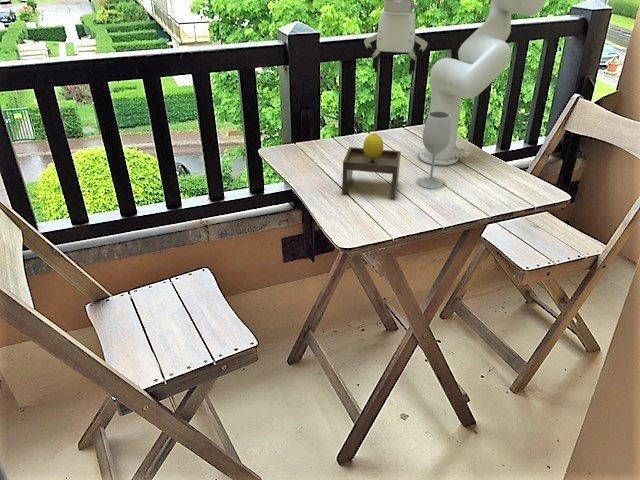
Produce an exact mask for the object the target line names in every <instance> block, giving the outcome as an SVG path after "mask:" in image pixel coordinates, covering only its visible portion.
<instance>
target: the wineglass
mask: <svg viewBox="0 0 640 480" xmlns="http://www.w3.org/2000/svg"><path fill="white" fill-rule="evenodd" d="M450 134H451V121H450V115H449V114H448V113H445V112H439V111H435V112H430V113H429V112H428V114H427V117H426V120H425V124H424V128H423V131H422V143H423V146H424V148H425V147H426V149H427V150H428V151H429V152H430V153H431V154H432V164H430V165H431V167H430V172H429V173H430V174H429V177H424V178H423V177H422V178H419V180H418V182H417V183H418V185H419V186H420V187H422V188H424V189H429V190H436V189H440V188H442V187H443V181H442V180H440V179H438V178H435V177H434V169H435V165H434V162H435V157H436V155H437V154H438V153H440V152H441V151H443V150H444V149H445V148H446V147H447V146H448V144H449V141H450Z"/></svg>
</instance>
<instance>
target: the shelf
mask: <svg viewBox="0 0 640 480" xmlns="http://www.w3.org/2000/svg"><path fill="white" fill-rule="evenodd" d="M348 147H349V148H348V149H347V152H346V154H345V156H344V158H343V160H342V185H341V187H342V188H341V195H343V196H346V195H347V193H348V191H349V189H350V186H351V184H352V180H353V172H354V171H356V172H367V173H376V174H377V173H378V174H386V175H387V174H389V175H392V177H391V188H390V198H389V199H390V201H391V200H394V201H395V200H396V195H397V189H398V185H399V178H400V177H399V176H400V165H401V156H402V155H401V153H402V151H401V150H389V149H383V151H382V154H381V155H380V156H379V157H378V158H376V159H374V160H371V159H370V158H368V157H367V156H366V155H365V153H364V150H363V147H356V146H355V147H354V146H353V147H352V146H348Z"/></svg>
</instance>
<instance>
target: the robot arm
mask: <svg viewBox="0 0 640 480" xmlns="http://www.w3.org/2000/svg"><path fill="white" fill-rule="evenodd" d="M546 1H547V0H490V7H489V13H488V16H487V18H486V19H485V21H484V22H483V23H482V24H481V25H480V27H478V28H477V29H476V30H475V31H474V32H473V33H472V34H471V35H470V36H468V38H466V39H465V41H464V42H463V43H462V44H461V45H460V47H459V48H458V51H457V57H458V59H455V58H452V57H444V58H441V59H439V60H437V61H436V62H435V63H434V64H433V65H432V67H431V69H430V74H429V85H430V103H429V110H428V114H429V113H430V112H435V111H439V112H445V113H448V114H449V115H450V121H451V134H450V141H449V144H448V146H447V147H446V148H445V149H444V150H443V151H441V152H440V153H438V154H437V155H436V157H435V162H434V166H450V165H453V164H456V163H457V162H458V161H459V158H460V157H464V158H465V157H467V158H469V156H470V150H466V148H464V147H461V148H459V147H457V138H458V131H459V125H460V117H461V111H462V99H465V100H470V99H474V98H476V97H477V96H479V95H480V94H481V93H482V92H483V91H485V89H487V88H488V87H489V86H490V85H491V84H492V83H493V82H494V81H495V80H496V79H497V78H499V76H500V75H501V74H502V73H503V72H504V71H505V70H506V68H507V67H508V66H509V63H510V60H511V56H512V50H511V47H510V44H508V43H507V42H506V41H507V40H508V38H509V37H510V34H511V29H512V14H514V15H520V16H525V17H531V16H535V15H538V14H539V13H540V12H541V11H542V10H543V8H544V6H545V5H546ZM416 9H419V2H416V1H415V0H384V1H383V10H381V11H380V15H379V21H378V27H377V33H375V34H373V35H371V36H369V37H367V38H364V41H363V44H364V46H365V48H366V50H367V52H368V53H369V54H370V56H371V57H372V69H374V70H373V71H374V73H376V74H377V73H378V71H379V65H380V64H379V63H380V62H379V61H380V56H379V54H380V53H381V52H386V53H387V52H388V53H408V55H409V56H410V59H409V68H408V75H409V76H412V73H413V72H415V71H416V70H415V69H416V60H417V59H418V58H419V57H420V56H421V55H423V53H424V51H425V50H426V48H427V47H428V42H427V41H426V40H424V39H423V38H421V37H419V36H417V35H416V12H414V11H413V10H416ZM374 41H376V49H375V48H374V47H373V46H372V44H371V43H372V42H374ZM415 43H417V44H418V45H420V46H419V49H418V50H416V51H415V50H414V47H415ZM418 154H419V155H418V157H419V159H420V160H421V161H422V162H424V163H427V164H429V165H432V154H431V153H430V152H429V151H428V150H427V149H426V147H425V146H424V149H422V150H420V152H419V153H418Z"/></svg>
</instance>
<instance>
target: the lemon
mask: <svg viewBox="0 0 640 480" xmlns="http://www.w3.org/2000/svg"><path fill="white" fill-rule="evenodd" d="M383 141H384V140H383V138H382V137H381V136H380V135H379V134H378V133H375V132H373V133H371V134H368V135H367V136H366V137H365V139H364V141H363V146H362V148H363V150H364V153H365V155H366V156H367V157H368V158H370V159H371V160H374V159H376V158H378V157H379V156H380V155H381V154H382V151H383V150H384V142H383Z"/></svg>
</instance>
